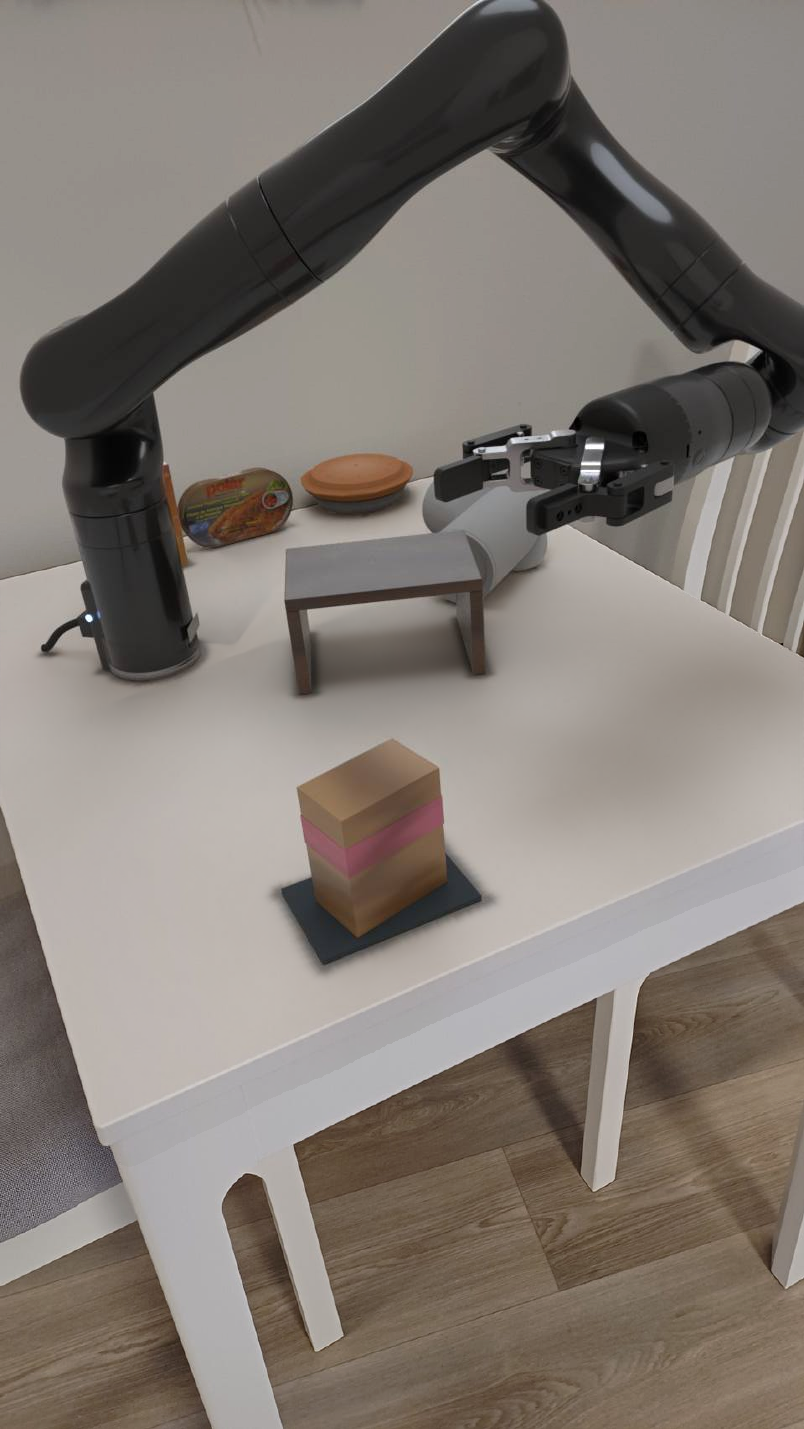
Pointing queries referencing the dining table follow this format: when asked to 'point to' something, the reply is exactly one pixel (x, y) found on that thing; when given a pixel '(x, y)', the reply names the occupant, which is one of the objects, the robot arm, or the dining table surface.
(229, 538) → the tin
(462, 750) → the dining table surface
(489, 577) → the bent grey cylinder
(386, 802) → the block
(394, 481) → the pie
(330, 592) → the shelf
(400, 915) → the mat
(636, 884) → the dining table surface
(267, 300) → the robot arm
